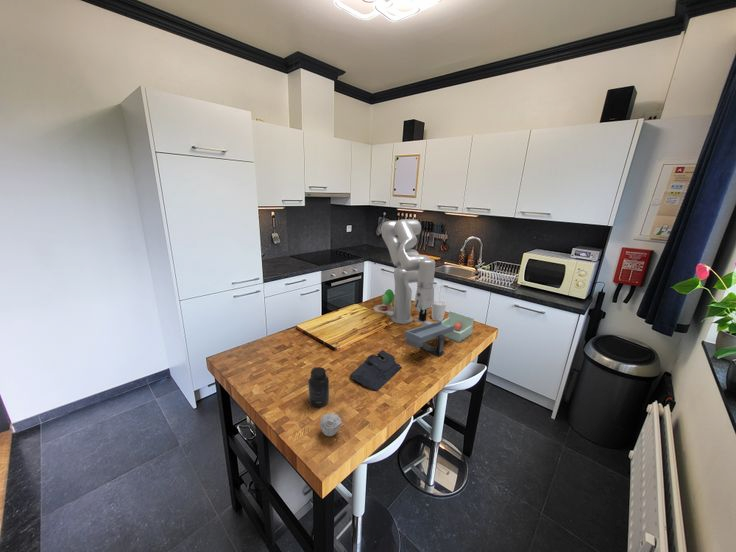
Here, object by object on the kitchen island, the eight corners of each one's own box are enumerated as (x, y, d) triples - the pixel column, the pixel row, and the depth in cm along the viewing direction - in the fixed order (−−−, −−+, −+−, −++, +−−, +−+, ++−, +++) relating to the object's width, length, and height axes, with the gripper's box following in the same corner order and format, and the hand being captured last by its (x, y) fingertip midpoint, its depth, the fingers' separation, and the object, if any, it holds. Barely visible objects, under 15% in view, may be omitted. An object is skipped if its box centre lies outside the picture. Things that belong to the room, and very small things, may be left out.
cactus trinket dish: (386, 283, 186) (402, 289, 175) (385, 302, 190) (400, 309, 179) (368, 287, 177) (383, 293, 166) (368, 307, 181) (382, 315, 170)
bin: (435, 333, 149) (436, 317, 147) (448, 325, 159) (449, 310, 156) (459, 343, 140) (461, 326, 138) (471, 334, 150) (473, 318, 147)
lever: (389, 336, 129) (390, 324, 128) (425, 325, 150) (427, 315, 150) (418, 349, 118) (420, 337, 117) (452, 335, 140) (454, 325, 139)
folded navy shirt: (343, 379, 111) (343, 368, 110) (374, 354, 129) (374, 345, 128) (376, 395, 103) (377, 383, 102) (404, 366, 121) (405, 356, 120)
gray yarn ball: (331, 447, 81) (330, 426, 79) (315, 433, 85) (314, 414, 84) (346, 434, 86) (346, 414, 84) (330, 422, 90) (330, 403, 88)
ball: (454, 323, 150) (458, 320, 152) (451, 327, 152) (454, 324, 155) (460, 329, 148) (464, 325, 151) (456, 333, 151) (460, 329, 153)
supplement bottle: (310, 394, 102) (309, 365, 98) (329, 394, 102) (329, 364, 99) (307, 408, 95) (306, 377, 92) (328, 407, 96) (328, 376, 92)
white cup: (443, 316, 171) (444, 300, 168) (445, 321, 163) (447, 305, 160) (429, 315, 171) (431, 299, 169) (431, 321, 164) (432, 304, 161)
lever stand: (414, 346, 136) (415, 328, 134) (420, 342, 140) (421, 325, 137) (438, 357, 127) (440, 338, 125) (444, 353, 131) (446, 335, 128)
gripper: (423, 289, 128) (420, 327, 133) (440, 283, 138) (437, 318, 143) (409, 285, 133) (407, 322, 138) (427, 279, 143) (424, 313, 148)
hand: (422, 320), depth 141 cm, fingers closed
